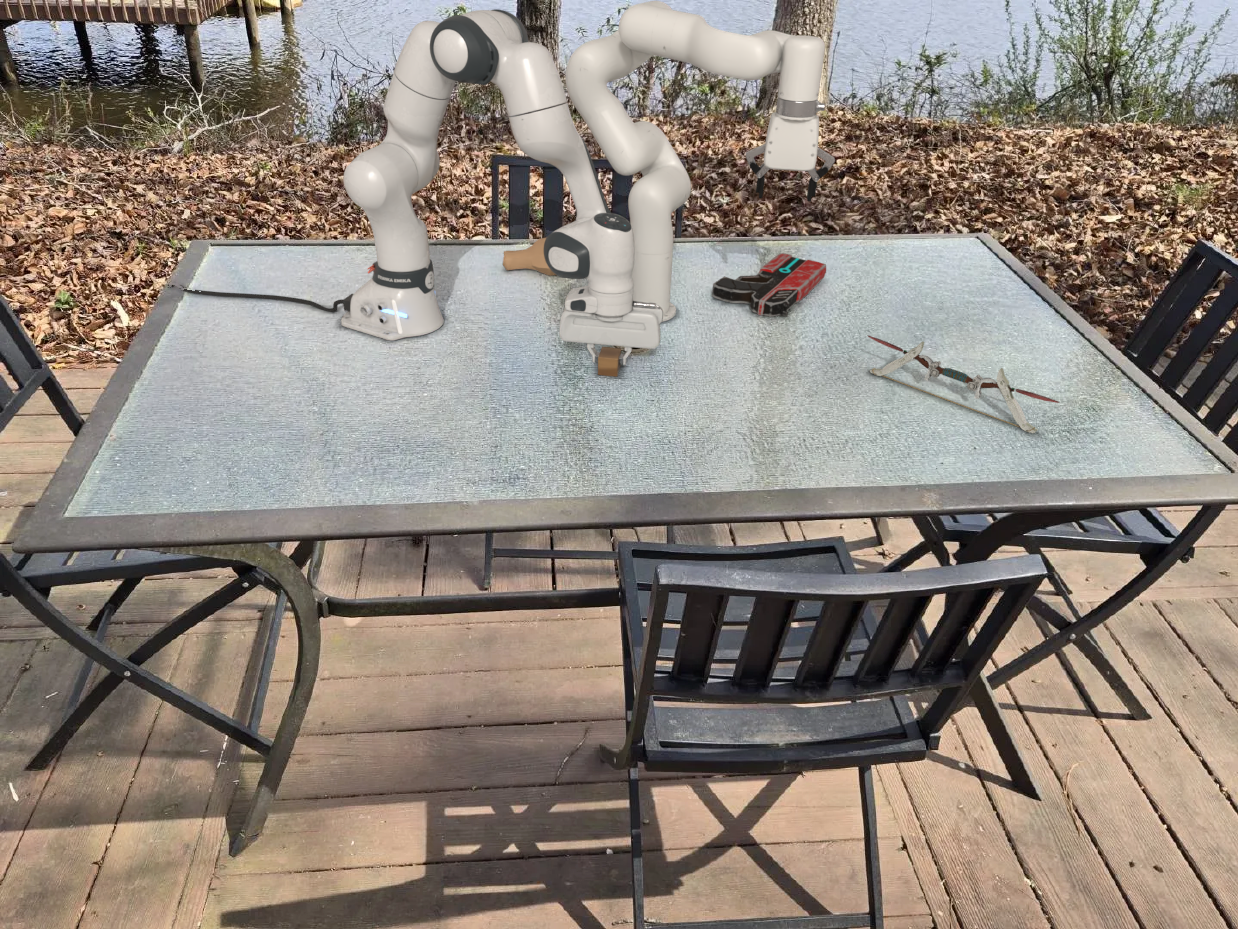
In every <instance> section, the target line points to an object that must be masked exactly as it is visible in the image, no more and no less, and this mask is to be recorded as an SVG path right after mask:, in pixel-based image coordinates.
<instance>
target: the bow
mask: <svg viewBox="0 0 1238 929" xmlns="http://www.w3.org/2000/svg"><path fill="white" fill-rule="evenodd" d="M867 337H868V338H870V339H871V340H873V341H875V342H876V343H879V344H881V345H882V346H885V347H887V348H890V349H893V350H895V351H898V352H901V353H902V354H904V355H903V356H902V357H898V358H897V359H894V360H893V361H890V362H888V363H887V364H886V365H885V366H884V367H882V368H876V367H873V368H871V369H869V372H870V374H872V375H874V376H877V377H882V378H886V379H889V380H892V381H894V382H897V383H899V384H902V385H905V386H907V387H909V388H910V387H911V388H913V389H916V390H918V391H921V392H924V393H926V394H929V395H931V396H935V397H936V398H940V399H941V400H945V401H947V402H948V401H949V402H951V403H952V404H956V405H958V406H962V407H964V408H967V409H968V410H972V411H975V412H978V413H980V414H982V415H985V416H988V417H991V418H994V419H996V420H998V421H1001V422H1004V423H1007V424H1009V425H1012V426H1015V427H1017V428H1020V429H1021V430H1022V431H1024V432H1027V433H1030V434H1036V432H1038V430H1039V429H1038V428H1036V427H1035V426H1033V425H1032V424H1031V423H1029V422H1028V421H1027V419H1026V416H1025V413H1024V411H1023V409H1022V407H1021V406H1020V404H1019V402H1018V401H1017V399H1016V398H1015V397H1014V394H1013V393H1014V392H1015V393H1017V394H1021V395H1023V396H1026V397H1029V398H1033V399H1035V400H1040V401H1044V402H1050V403H1056V404H1060V401H1059V400H1056V399H1052V398H1050V397H1047V396H1044V395H1041V394H1038V393H1035V392H1031V391H1028V390H1024V389H1019V388H1015V387H1011V385H1010V381H1009V380H1008V378H1007V377H1006V374H1005V370H1004V368H1003V367H1000V368H999V370H998V371H997V376H996V380H995V379H994V378H991V377H984V378H983V376H981V375H980V374H977V375H976V376H974V377H973V378H972V377H970V376H969V375H968V374H967V373H965V372H963V371H959V370H956V369H954V368H951V367H941V365H942V362H941V360H938V361H936V360H935V361H934V360H933V359H932V358H931V357H930V356H928V355H926V354H921V353H922V351H923V349H924V347H925V341H921V342H920V343H919V344H917V345H916V347H913V348H911V349H910V350H909V351H907V350H906V349H903V348H901V347H899V346H898V345H895V344H893V343H891V342H888V341H886V340H883V339H880V338H877V337H874V336H871V335H868V334H867ZM914 361H917V362H918V363H920V365H922V366H923V367H924V368H926V369H927V372H926V374H925V375H924V378H923V381H927V382H928V381H929V380H931V377H933V378H935V379H937V378H938V377H940V376H941V375H942V376H944V377H947V378H949V379H953V380H956V381H958V382H961V383H964V384H966V385H967V386H966V388H967V389H968V390H969V391H971V392H975V393H974V399H975V400H979V399H981V398H982V389H997V390H998V391H999V393H1000V394H1001V396H1002V398H1003V399H1004V401H1005V402H1006V405H1007V408H1008V410H1009V411H1010V413H1011V415H1012V417H1013V419H1014V421H1015V422H1016V424H1014V423H1012V422H1009V421H1007V420H1004V419H1002V418H1000V417H999V418H998V417H996V416H994V415H991V414H988V413H985V412H982V411H980V410H977V409H974V408H971V407H969V406H966V405H964V404H960V403H958V402H955V401H953V400H950V399H947V398H945V397H942V396H939V395H937V394H934V393H931V392H929V391H926V390H925V389H924V390H923V389H921V388H918V387H915V386H912V385H910V384H908V383H905V382H902V381H899V380H896V379H893V378H891V377H888V376H886V375H888V374H892V373H894V372H895V371H897V370H898V369H900V368H901V367H903V366H905V365H907V364H909V363H911V362H914Z"/></svg>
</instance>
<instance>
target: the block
mask: <svg viewBox="0 0 1238 929" xmlns="http://www.w3.org/2000/svg"><path fill="white" fill-rule="evenodd" d="M599 352H600V354H599V357H598V363H597V375H598V376H605V377H618V376H619V372H620V369H621V366H622V365H619V356H620V354H622V347H616V346H604V345H602V346H601V349H600V351H599Z"/></svg>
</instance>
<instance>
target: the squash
mask: <svg viewBox="0 0 1238 929" xmlns="http://www.w3.org/2000/svg"><path fill="white" fill-rule="evenodd" d="M547 237H548V236H546V237H542V238H539V239H537V240H536V241H535V242H534V243H533V244H532V245H531V246H529V247H527V248H525V249H518V250H504V251H503V259H502V266H503V267H504V269H505V270H506V271H513V270H522V269H528V270H534V271H536V272H539V273H540V274H543V275H546V276H557V275H556V274H555V273H553V272H552V271H551V269H550V268H549V267H548V265H547V263H546V261H545V258H544V243H545V240H546V238H547Z"/></svg>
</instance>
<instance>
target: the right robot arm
mask: <svg viewBox="0 0 1238 929" xmlns="http://www.w3.org/2000/svg"><path fill="white" fill-rule="evenodd" d="M825 44H826V43H825V41H824V40H823V39H822V38H821V37H818V36H813V35H803V34H802V35H793V34H788V33H785V32H781V31H778V30H774V29H773V30H772V29H767V30H763V31H760V32H756V33H753V34H751V35H748V34H741V33H737V32H731V31H727V30H722V29H719V28H716V27H714V26H712V25H709V24H708V23H707V21H706V19H705V17H704V16H702V15H700V14H697V13H691V12H686V11H680V10H674V9H672V8H671V6H670V5H669V4H667V3H665V2H664V1H661V0H650V1H646V2H641V3H636V4H633V5H631V6H629V7H628V8H627V9H625V10H624V12H623V13H622V15H621V17H620V19H619V21H618V29H617V30H616V31H614V32H613V33H612V34H611V35H607V36H604V37H599V38H595V39H592V40H589V41H586V42H584V43H583V44H580V45H579V46H578V47H577V48H575V50H574V51H573V53H572V54H571V55H570V57H569V59H568V61H567V63H566V64H567V65H566V68H565V86H566V90H567V94H568V96H569V99H570V101H571V102H572V105H573V106H574V108H575V110H576V111H577V112H578V114H579V115H580V116H581V118H582V120H583V121H584V122H585V124H586V125H587V127H588V129H589V131H590V133H591V134H592V136H593V138H594V139H595V141H596V143H597V144H598V146H599V148H600V150H601V151H602V152H603V154H604V156H605V158H606V159H607V161H608V163H609V164H610V166H611V167H612V169H613V170H614V171H615V172H616V173H617V174H619V175H621V176H632V175H635V174H637V173H639V172H640V173H641V175H642V177H641V178H639V179H638V180H637V181H635V183H634V184H633V185H632V187H631V188H630V192H629V195H628V200H627V205H628V206H627V207H628V213H629V214H628V215H629V222H630V224H631V226H632V228H633V232H634V240H635V265H634V268H633V272H632V278H633V282H634V295H633V301H640V302H646V303H649V302H652V303H656V305H658V306H660V307H661V308H662V310H663V321H662V322H661V323H665V322H667V321H670V320H672V319H673V318H674V317H675V316H676V314H677V307H676V306H675V304H674V303H672V302H671V289H672V272H673V258H674V257H673V256H674V227H673V222H672V214H673V213H674V211H676V210H678V209H679V208H680V207H682V206H683V205H684V204H685V203H686V202H687V201H688V200H689V198H690V196H691V192H692V182H691V178H690V176H689V173H688V172H687V170H686V168H685V166H684V165H683V162H682V161H681V159H680V157H679V156H678V154H677V152H676V151H675V149H674V147H673V146H672V144H671V142H670V140H669V139H668V137H667V136H666V134H665V133H664V131H663V130H662V129H661V128H659V127H658V126H657V125H656V124H654V123H653V122H650V121H646V120H641V121H636V122H634V121H633V119H632V118H631V117H630V115H629V113H628V112H627V110H626V109H625V107H624V105H623V103H622V102H621V100H619V98H618V97H617V96H616V95H614V93H613V92H611V90H610V89H609V88H608V83H612V82H614V81H616V80H621V79H622V78H624V77H627V76H628V75H630V74H631V73H632V72H634V71H635V70H636V69H638V68H639V67H640V66H642V65H643V64H645V62H647V61H648V60H649V59H651V58H652V57H653V56H656V57H660V58H664V59H669V60H674V61H678V62H682V63H687V64H690V65H692V66H694V67H695V68H699V69H701V70H704V71H705V72H708V73H712V74H715V75H718V76H723V77H727V78H733V79H737V80H743V81H757V80H760V79H762V78H764V77H766V76H769V75H773V74H777V73H778V74H779V73H780V74H779V81H778V82H779V83H778V92H777V99H776V108H775V112H772V113H771V115H770V118H769V122H768V126H767V131H766V136H765V141H764V142H765V143H763V144H761V145H759V146H756V147H754V148H752V149H750V150H747V151H746V152H745V159H746V161H747V164H748V166H749V168H750V170H751V172H753V173H754V174H755V176H756V186H755V187H756V188H755V193H756V194H758V199H762V198H763V197H764V189H765V181H766V180H765V179H766V177H765V175H766V174H767V172H768V171H769V170H778V171H793V172H807V173H808V175H809V176H810V178H809V180H808V187H807V193H806V201H807V202H809V203H810V202H812V197H816V192H817V186H818V182H819V181H820V180H821V179H822V178H823V177H824V176H826V175H827V173H829V171H830V169H831V168H832V167H833V166H834V164H835V162H836V159H835V156H833V155H831V154H830V153H828V152H827V151H825V150H824V149H822V148H821V147H819V137H820V116H819V115H817V113H818V112H820V111H822V112H824V111H825V106H826V103H825V102H821V101H820V100H819V99H818V98H819V92H820V86H821V81H822V79H821V78H822V74H823V66H824V60H825V51H826V45H825ZM762 154H763V163H762V164H761V165H760V166H759V164H758V163H757V162H756V160H755V157H758V156H759V155H762ZM818 158H820V159H822V160H823V161H825V162H824V164H823V165H822V166H821V167H820V168H819V169H816V164H817V159H818ZM656 308H657V307H656Z"/></svg>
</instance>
